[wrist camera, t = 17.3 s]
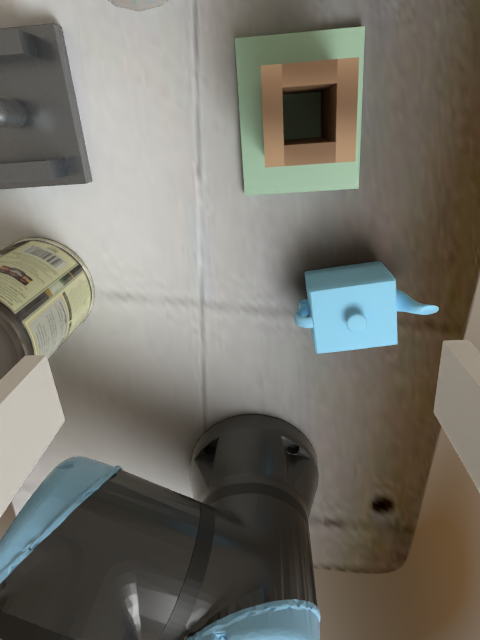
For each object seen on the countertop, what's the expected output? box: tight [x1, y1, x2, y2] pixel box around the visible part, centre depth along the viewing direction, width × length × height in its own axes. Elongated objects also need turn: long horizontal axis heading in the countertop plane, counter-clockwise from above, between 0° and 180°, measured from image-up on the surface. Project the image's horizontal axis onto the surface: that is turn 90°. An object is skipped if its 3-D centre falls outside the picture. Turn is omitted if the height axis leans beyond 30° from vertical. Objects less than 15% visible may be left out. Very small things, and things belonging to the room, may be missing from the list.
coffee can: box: [0, 238, 95, 380], centre depth 39 cm, size 10×10×14 cm
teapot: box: [295, 261, 439, 354], centre depth 40 cm, size 12×6×8 cm, turn 100°
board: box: [235, 26, 365, 196], centre depth 37 cm, size 12×10×1 cm
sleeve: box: [261, 57, 359, 168], centre depth 32 cm, size 6×6×9 cm
